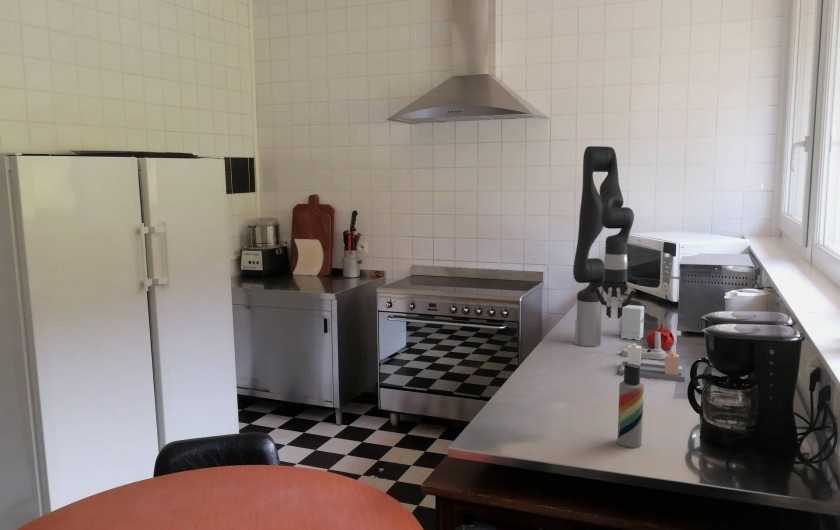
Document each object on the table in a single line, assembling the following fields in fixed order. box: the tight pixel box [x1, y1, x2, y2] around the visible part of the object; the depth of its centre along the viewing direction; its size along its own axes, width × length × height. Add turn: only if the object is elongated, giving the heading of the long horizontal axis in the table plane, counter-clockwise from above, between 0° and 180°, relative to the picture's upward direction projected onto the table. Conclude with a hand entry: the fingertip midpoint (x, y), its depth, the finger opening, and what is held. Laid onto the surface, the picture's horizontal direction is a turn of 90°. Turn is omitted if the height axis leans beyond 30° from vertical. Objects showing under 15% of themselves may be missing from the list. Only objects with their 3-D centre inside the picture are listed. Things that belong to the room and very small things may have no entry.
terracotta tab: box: [664, 351, 680, 375], centre depth 214 cm, size 4×3×7 cm
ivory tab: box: [627, 342, 642, 366], centre depth 225 cm, size 4×3×7 cm
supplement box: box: [620, 304, 645, 341], centre depth 266 cm, size 7×7×13 cm
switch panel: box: [618, 360, 686, 382], centre depth 220 cm, size 20×12×2 cm, turn 68°
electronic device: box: [621, 331, 667, 360], centre depth 239 cm, size 5×10×15 cm
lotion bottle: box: [617, 364, 645, 449], centre depth 163 cm, size 6×6×20 cm
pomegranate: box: [645, 323, 675, 351], centre depth 250 cm, size 10×10×9 cm
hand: (614, 317), depth 226 cm, fingers open, 2 cm apart
